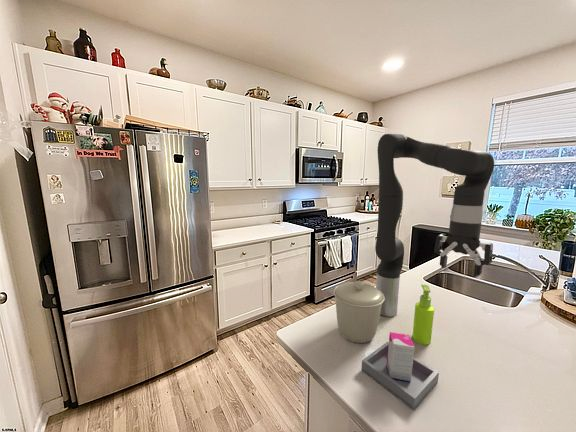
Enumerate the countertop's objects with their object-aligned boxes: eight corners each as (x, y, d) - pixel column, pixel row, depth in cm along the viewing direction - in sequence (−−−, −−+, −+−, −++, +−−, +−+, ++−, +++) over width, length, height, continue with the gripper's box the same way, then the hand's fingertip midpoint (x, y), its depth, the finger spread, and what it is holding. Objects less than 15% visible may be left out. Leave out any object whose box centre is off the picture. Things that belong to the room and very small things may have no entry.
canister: (389, 332, 92) (393, 281, 88) (368, 359, 79) (372, 299, 75) (346, 314, 104) (348, 268, 100) (322, 334, 91) (324, 282, 87)
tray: (361, 370, 74) (362, 360, 73) (386, 350, 82) (387, 341, 82) (413, 410, 61) (415, 398, 61) (437, 382, 70) (438, 372, 69)
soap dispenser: (428, 334, 91) (433, 284, 87) (432, 346, 84) (438, 293, 81) (410, 331, 93) (415, 282, 89) (413, 342, 86) (418, 290, 83)
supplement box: (411, 383, 68) (415, 347, 66) (389, 379, 70) (392, 344, 68) (406, 367, 74) (409, 334, 72) (386, 364, 75) (388, 331, 73)
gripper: (500, 222, 68) (492, 276, 70) (444, 215, 79) (439, 262, 82) (492, 225, 63) (483, 283, 66) (434, 217, 74) (428, 267, 77)
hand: (459, 271), depth 74 cm, fingers open, 8 cm apart
